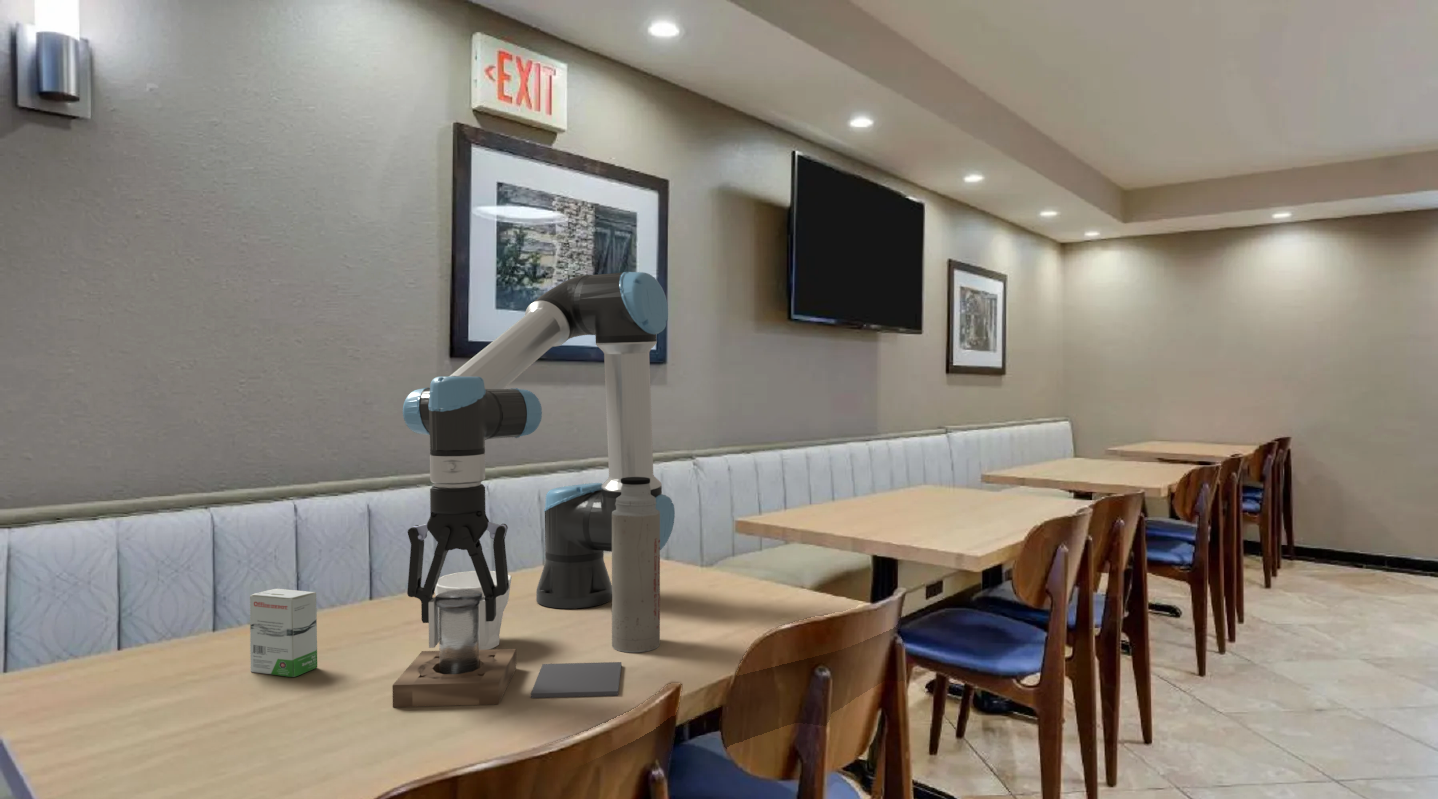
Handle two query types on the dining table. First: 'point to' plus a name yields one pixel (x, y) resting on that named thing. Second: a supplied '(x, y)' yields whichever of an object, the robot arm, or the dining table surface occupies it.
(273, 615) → the ink box
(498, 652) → the block
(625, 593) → the thermos bottle
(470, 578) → the cup
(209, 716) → the dining table surface
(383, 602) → the dining table surface
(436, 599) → the glass jar
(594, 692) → the mat
